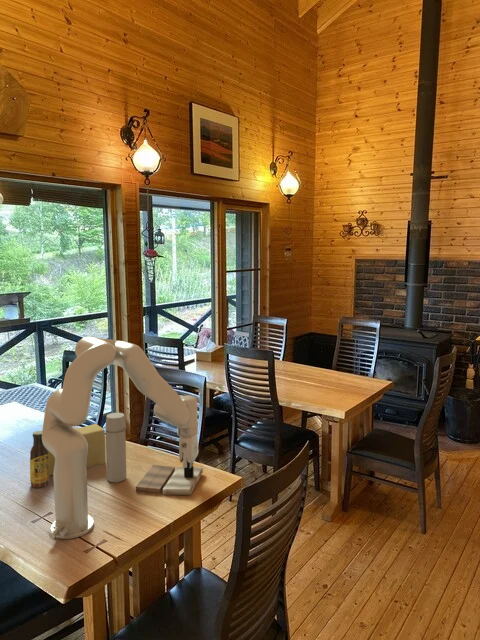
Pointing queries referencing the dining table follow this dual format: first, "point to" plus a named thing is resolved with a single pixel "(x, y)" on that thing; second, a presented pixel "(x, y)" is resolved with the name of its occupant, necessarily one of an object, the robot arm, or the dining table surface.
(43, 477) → the sauce bottle
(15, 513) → the dining table surface
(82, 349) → the robot arm
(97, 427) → the cheese
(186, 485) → the board
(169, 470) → the laid board
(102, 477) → the dining table surface
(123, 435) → the water bottle
